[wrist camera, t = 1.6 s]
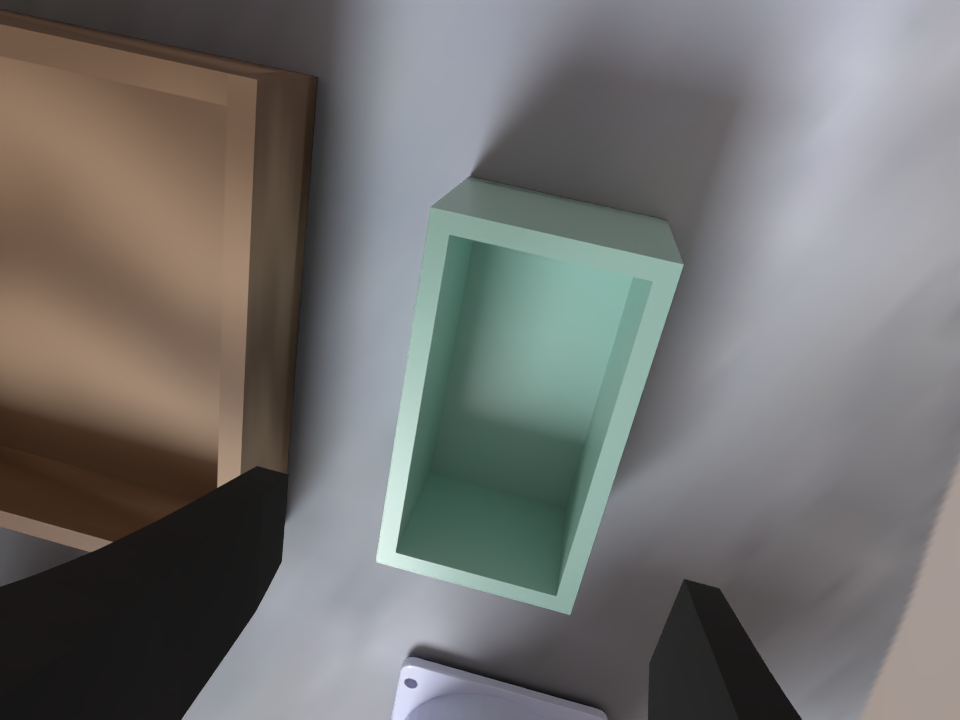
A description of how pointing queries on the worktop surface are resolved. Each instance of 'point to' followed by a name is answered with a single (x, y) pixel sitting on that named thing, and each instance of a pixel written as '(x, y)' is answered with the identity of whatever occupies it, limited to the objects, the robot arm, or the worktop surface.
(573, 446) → the small crate
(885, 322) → the worktop surface
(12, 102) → the big crate
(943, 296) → the worktop surface
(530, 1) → the worktop surface
